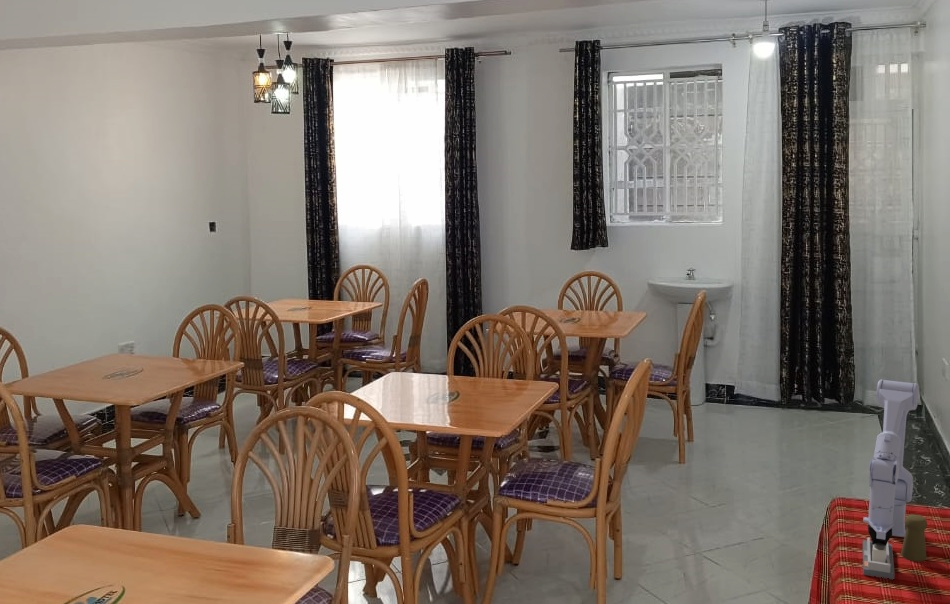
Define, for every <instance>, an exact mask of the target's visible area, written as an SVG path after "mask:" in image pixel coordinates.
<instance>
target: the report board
mask: <svg viewBox="0 0 950 604" xmlns="http://www.w3.org/2000/svg"><path fill="white" fill-rule="evenodd" d="M866 539H867V540H865V539H862V569H863V570H862V571H863V572H862V574H863V575H864V576H871V577H874V576H876V578H881V577H882V579H887V578H889V579H888V580H893V579H894V580H895V565H894V554H893V544H892V543H889V541H888V542H887V545H886V562H885V563H882V562H876V561H872V550H873V545H872V540H871V537H870V536H869V537H867V538H866ZM883 577H884V578H883Z"/></svg>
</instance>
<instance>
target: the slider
mask: <svg viewBox="0 0 950 604" xmlns="http://www.w3.org/2000/svg"><path fill="white" fill-rule="evenodd" d="M872 561H876V562H882V563H885V562H886V546H885V545H884V544H882V543H875V544H874V545H873V550H872Z"/></svg>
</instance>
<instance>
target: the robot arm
mask: <svg viewBox="0 0 950 604" xmlns="http://www.w3.org/2000/svg"><path fill="white" fill-rule="evenodd" d="M919 393H920V387H919V384H918V383H916V382H914V383H912V382H905V381H899V380H898V381H897V380H887V379H882V378H881V379H879V380H878V382H877V385H876V400H877V402H878V406H880V407H881V408H882V409H883V410H884V411H883V425H882V432H880V433H879V434H877V436H876V441H875V446H874V447H875V448H874V453H873V457H872V458H871V459H870V461H869V466H868V467H869V468H868V477H869V478H868V479H869V483H868V485H869V487H870V490H869V502H868V503H869V504H868V505H869V506H868V517H866V516H863V517H862V518H863V520H862V521H863V523H866V524H868V525H867V532H868V533H869V537H870V540H871V541H872V545H874V544H875V543H882V544H884V545H885V546H886V545H887V542H888V543H889V540H890V539H891V538H892V537H900V538H905V533H906V525H905V519H906V509H907V508H906V507H907V503H910V502H912V499H913V493H914V492H913V489H914V481H913V480H914V477H913V474H912V473H911V472H910V471H909V470H907V469H906V468H905V467H904V466H903V465H904V454H905V441H906V440H905V437H906V426H907V425H906V424H907V416H908V414H909V412H910V411H915V410H917V407H918V402H919Z"/></svg>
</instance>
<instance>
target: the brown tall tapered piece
mask: <svg viewBox="0 0 950 604" xmlns="http://www.w3.org/2000/svg"><path fill="white" fill-rule="evenodd" d="M927 527H928V521H927V519H926V518H925V517H924V516H921V515H918V514H909V515H907V516H905V530H906V533H905V537H903V542H902V548H901V552H900V555H901V557H903V558H904V559H906V560H908V561H912V562H924V561H926V560H927V559H928V558H927V547H926V536H925V535H926V534H925V531H926V529H927Z"/></svg>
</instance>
